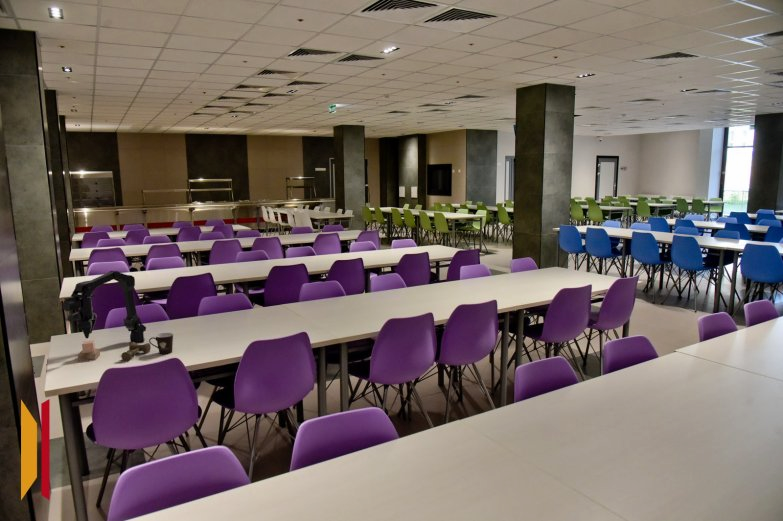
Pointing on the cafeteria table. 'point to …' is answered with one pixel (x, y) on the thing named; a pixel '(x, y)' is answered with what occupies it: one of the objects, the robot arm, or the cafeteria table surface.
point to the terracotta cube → (88, 346)
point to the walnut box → (89, 355)
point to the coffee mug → (164, 342)
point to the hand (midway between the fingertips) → (88, 335)
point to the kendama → (135, 350)
